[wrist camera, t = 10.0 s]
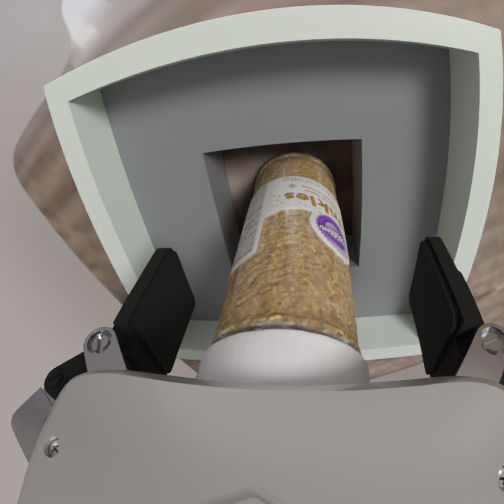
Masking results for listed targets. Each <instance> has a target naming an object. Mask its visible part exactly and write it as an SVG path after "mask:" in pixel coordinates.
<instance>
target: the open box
mask: <svg viewBox="0 0 504 504" xmlns="http://www.w3.org/2000/svg"><path fill="white" fill-rule="evenodd" d="M43 87H44V92H45V95H46V99H47V103H48V106H49V109H50V113H51V116H52V119H53V123H54V126H55V129H56V132H57V135H58V138H59V141H60V144H61V147H62V150H63V152H64V155H65V158H66V161H67V163H68V166H69V169H70V171H71V174H72V177H73V179H74V182H75V184H76V187H77V189H78V192H79V194H80V196H81V199H82V201H83V203H84V206H85V208H86V210H87V213H88V215H89V217H90V219H91V222H92V224H93V226H94V228H95V230H96V232H97V235H98V237H99V239H100V241H101V243H102V245H103V247H104V249H105V251H106V253H107V255H108V257H109V259H110V261H111V263H112V265H113V267H114V269H115V271H116V273H117V275H118V277H119V278H120V280H121V282H122V284H123V286H124V288H125V289H126V291H127V293H128V295H129V294H130V292H131V290H132V288H133V287H134V285H135V283H136V282H137V280H138V278H139V277H140V275H141V273H142V272H143V270H144V268H145V267H146V265H147V263H148V262H149V260H150V258H151V257H152V255H153V254H154V252H155V250H156V249H158V248H172V249H173V251H176V252H177V254H178V256H179V259H180V262H181V264H182V267H183V270H184V272H185V275H186V278H187V280H188V283H189V285H190V288H191V290H192V293H193V295H194V298H195V308H194V310H193V313H192V316H191V318H190V321H189V324H188V326H187V329H186V332H185V335H184V337H183V340H182V343H181V345H180V348H179V351H178V354H177V357H176V358H179V359H190V360H201V359H202V357H203V354H204V353H205V352H206V350H207V349H208V348H209V347H210V346H211V344H212V341H213V339H214V337H215V333H216V330H217V325H218V322H219V318H220V315H221V310H222V306H223V303H224V301H225V297H226V294H227V284H228V279H229V276H230V272H231V269H232V266H233V262H234V259H235V255H236V252H237V248H238V244H239V241H240V233H239V229H238V224H237V220H236V215H235V211H234V206H233V202H232V197H231V193H230V188H229V184H228V179H227V175H226V170H225V166H224V161H223V156H222V152H221V150H227V149H235V148H243V147H251V146H261V145H270V144H281V143H293V142H306V141H322V140H344V139H351V145H352V181H353V213H352V235H345V239H346V244H347V251H348V256H349V272H350V280H351V288H352V294H353V299H354V308H355V315H356V316H355V320H356V324H357V335H358V347H359V348H360V351H361V355H362V357H363V358H364V360H371V359H383V358H393V357H403V356H411V355H419V354H422V352H421V348H420V343H419V339H418V335H417V330H416V326H415V322H414V318H413V315H412V311H411V307H410V303H409V292H410V288H411V284H412V280H413V275H414V271H415V266H416V261H417V256H418V251H419V246H420V242H421V241H424V240H425V238H426V237H441V239H442V241H443V242H444V244H445V246H446V248H447V250H448V252H449V254H450V256H451V258H452V259H453V261H454V263H455V265H456V267H457V269H458V270H459V271H460V272H461V273H462V275H463V276H464V279H465V281H466V282H467V279H468V276H469V273H470V271H471V268H472V265H473V262H474V259H475V255H476V252H477V249H478V246H479V242H480V239H481V235H482V232H483V228H484V224H485V220H486V216H487V212H488V208H489V203H490V199H491V194H492V189H493V184H494V178H495V172H496V166H497V159H498V152H499V144H500V135H501V123H502V108H503V58H502V42H501V32H500V30H499V29H496V28H493V27H490V26H486V25H483V24H479V23H476V22H472V21H468V20H464V19H460V18H456V17H451V16H446V15H441V14H436V13H430V12H424V11H418V10H411V9H402V8H393V7H382V6H365V5H315V6H299V7H287V8H277V9H269V10H261V11H254V12H248V13H242V14H236V15H231V16H226V17H221V18H216V19H212V20H208V21H203V22H199V23H195V24H192V25H188V26H184V27H181V28H177V29H174V30H170V31H167V32H164V33H161V34H158V35H155V36H152V37H149V38H146V39H143V40H140V41H138V42H135V43H132V44H130V45H127V46H125V47H122V48H120V49H117V50H115V51H112V52H110V53H108V54H105V55H103V56H101V57H99V58H97V59H94V60H92V61H90V62H88V63H86V64H84V65H82V66H80V67H78V68H76V69H74V70H72V71H70V72H68V73H66V74H64V75H63V76H61V77H59V78H57V79H55V80H54V81H52V82H50V83H48V84H47V85H45V86H43Z"/></svg>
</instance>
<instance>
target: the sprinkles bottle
mask: <svg viewBox="0 0 504 504" xmlns="http://www.w3.org/2000/svg"><path fill="white" fill-rule="evenodd" d="M355 316H356V315H355V308H354V299H353V294H352V288H351V280H350V272H349V256H348V251H347V244H346V239H345V232H344V227H343V222H342V217H341V212H340V208H339V205H338V203H337V199H336V185H335V180H334V178H333V176H332V174H331V172H330V170H329V168H328V167H327V166H326V165H325V164H324V163H323V162H322V161H321V160H320V159H317V158H316V157H314V156H312V155H309V154H304V153H299V152H290V153H283V154H280V155H278V156H276V157H274V158H272V159H271V160H270V161H268V162H267V163H266V164H265V165H264V166H262V168H261V170H260V172H259V174H258V175H257V178H256V182H255V192H254V196H253V199H252V201H251V203H250V205H249V209H248V212H247V216H246V219H245V223H244V226H243V230H242V234H241V237H240V241H239V244H238V248H237V252H236V255H235V259H234V262H233V266H232V269H231V272H230V276H229V279H228V284H227V294H226V297H225V301H224V303H223V306H222V310H221V315H220V318H219V322H218V325H217V330H216V333H215V337H214V339H213V341H212V344H211V346H210V347H209V348H208V349H207V350H206V352H205V353H204V354H203V357H202V359H201V362H200V365H199V369H198V372H197V376H196V379H203V380H214V381H226V382H240V383H257V384H285V385H330V384H359V383H370V378H369V370H368V366H367V363H366V361H365V360H364V358H363V357H362V355H361V351H360V348H359V347H358V335H357V324H356V320H355Z"/></svg>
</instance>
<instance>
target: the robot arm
mask: <svg viewBox="0 0 504 504" xmlns="http://www.w3.org/2000/svg"><path fill="white" fill-rule="evenodd" d="M409 303H410V307H411V311H412V315H413V318H414V322H415V326H416V330H417V335H418V339H419V343H420V348H421V352H422V357H423V362H424V367H425V371H426V374H427V375H429V374H430V377H431V378H423V379H414V380H401V381H389V382H375V383H359V384H330V385H285V384H257V383H240V382H226V381H214V380H203V379H193V378H185V377H177V376H168V375H167V373H170V372H171V370H172V368H173V365H174V362H175V359H176V357H177V354H178V351H179V348H180V345H181V343H182V340H183V337H184V335H185V332H186V329H187V326H188V324H189V321H190V318H191V316H192V313H193V310H194V308H195V298H194V295H193V293H192V290H191V288H190V285H189V283H188V280H187V278H186V275H185V272H184V270H183V267H182V264H181V262H180V259H179V256H178V254H177V252H176V251H173V249H172V248H158V249H156V250H155V252H154V254H153V255H152V257H151V258H150V260H149V262H148V263H147V265H146V267H145V268H144V270H143V272H142V273H141V275H140V277H139V278H138V280H137V282H136V283H135V285H134V287H133V288H132V290H131V292H130V294H129V295H128V297H127V299H126V301H125V302H124V304H123V306H122V308H121V310H120V311H119V313H118V315H117V316H116V318H115V321H114V322H113V323H114V327H113V328H112V329H111V328H109V327H101V328H98V329H96V330H94V331H93V332H91V333H90V334H89V335H88V337H87V338H86V340H85V342H84V352H82V353H80V354H79V355H77V356H75V357H74V358H72V359H70V360H68V361H66V362H65V363H63V364H61V365H59V366H58V367H56V368H54V369H53V370H51V371H50V373H49V374H48V375H47V377H46V379H45V383H44V389H42V388H41V387H40V388H39V390H37V391H36V392H35V393H34V394H33V395H32V396H31V397H30V398H29V399H28V400H27V401H26V402H25V403H24V404H23V405H22V406H21V407H20V408H19V409H17V410H16V412H15V413H14V414H13V417H12V421H11V425H12V429H13V431H14V433H15V436H16V438H17V440H18V442H19V444H20V446H21V448H22V450H23V452H24V454H25V456H26V458H27V460H28V462H29V465H28V468H27V472H26V475H25V478H24V481H23V485H22V489H21V493H20V496H19V500H18V504H504V328H502V327H501V326H499V325H497V324H494V323H487V324H484V322H483V319H482V317H481V314H480V312H479V310H478V307H477V305H476V303H475V300H474V298H473V296H472V294H471V291H470V289H469V287H468V285H467V283H466V281H465V279H464V276H463V275H462V273H461V272H460V271H459V270H458V269H457V267H456V265H455V263H454V261H453V259H452V258H451V256H450V254H449V252H448V250H447V248H446V246H445V244H444V242H443V241H442V239H441V237H426V238H425V240H424V241H421V242H420V246H419V251H418V256H417V261H416V266H415V271H414V275H413V280H412V284H411V288H410V292H409Z"/></svg>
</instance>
